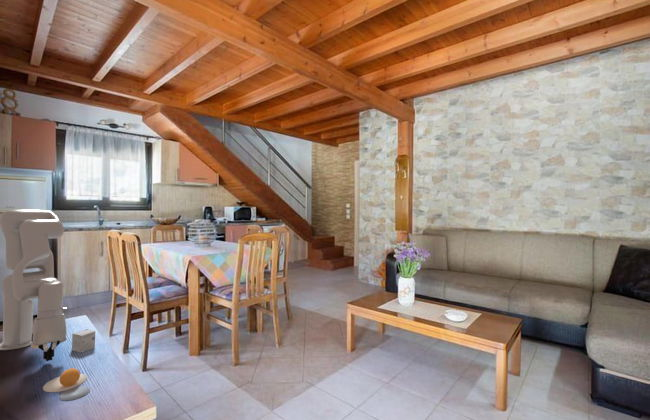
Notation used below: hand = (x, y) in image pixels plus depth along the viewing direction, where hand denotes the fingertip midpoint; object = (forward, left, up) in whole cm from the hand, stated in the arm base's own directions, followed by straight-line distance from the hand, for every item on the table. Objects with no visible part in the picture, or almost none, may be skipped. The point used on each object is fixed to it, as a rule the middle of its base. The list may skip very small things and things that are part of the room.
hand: (48, 359), depth 126 cm
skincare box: (-6, +13, -2) cm, 14 cm away
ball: (+25, 0, +1) cm, 25 cm away
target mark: (+22, 0, -2) cm, 22 cm away
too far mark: (+32, 0, -2) cm, 33 cm away
